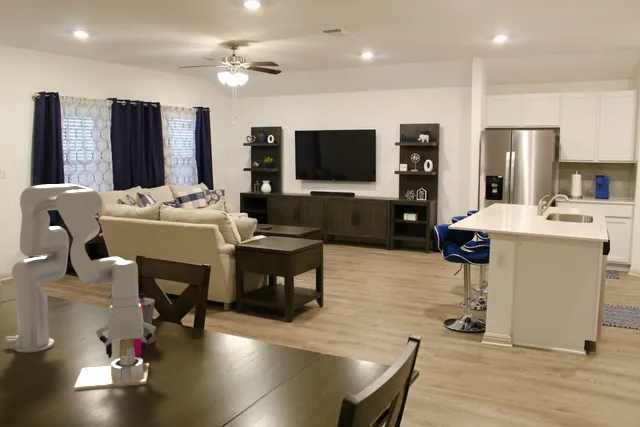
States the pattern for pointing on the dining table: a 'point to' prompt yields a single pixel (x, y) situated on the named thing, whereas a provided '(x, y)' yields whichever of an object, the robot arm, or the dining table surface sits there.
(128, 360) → the sprinkles bottle
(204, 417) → the dining table surface
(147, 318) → the coffeepot
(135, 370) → the white ring holder board
